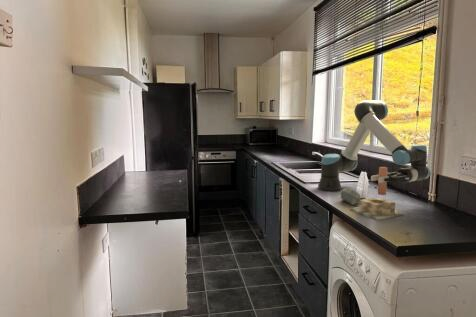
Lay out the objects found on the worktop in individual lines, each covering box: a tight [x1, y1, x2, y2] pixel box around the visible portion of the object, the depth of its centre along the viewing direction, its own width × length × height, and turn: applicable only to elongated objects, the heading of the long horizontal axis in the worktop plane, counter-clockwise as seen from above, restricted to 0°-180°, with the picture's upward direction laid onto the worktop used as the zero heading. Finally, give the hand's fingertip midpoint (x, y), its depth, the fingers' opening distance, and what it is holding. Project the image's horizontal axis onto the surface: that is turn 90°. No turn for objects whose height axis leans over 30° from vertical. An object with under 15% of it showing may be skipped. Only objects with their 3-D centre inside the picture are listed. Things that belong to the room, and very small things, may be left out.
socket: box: [350, 196, 405, 221], centre depth 166 cm, size 18×18×6 cm
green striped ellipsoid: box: [340, 187, 361, 206], centre depth 185 cm, size 14×10×10 cm
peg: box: [377, 166, 389, 196], centre depth 166 cm, size 4×4×14 cm
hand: (375, 179), depth 163 cm, fingers closed on peg, 4 cm apart
